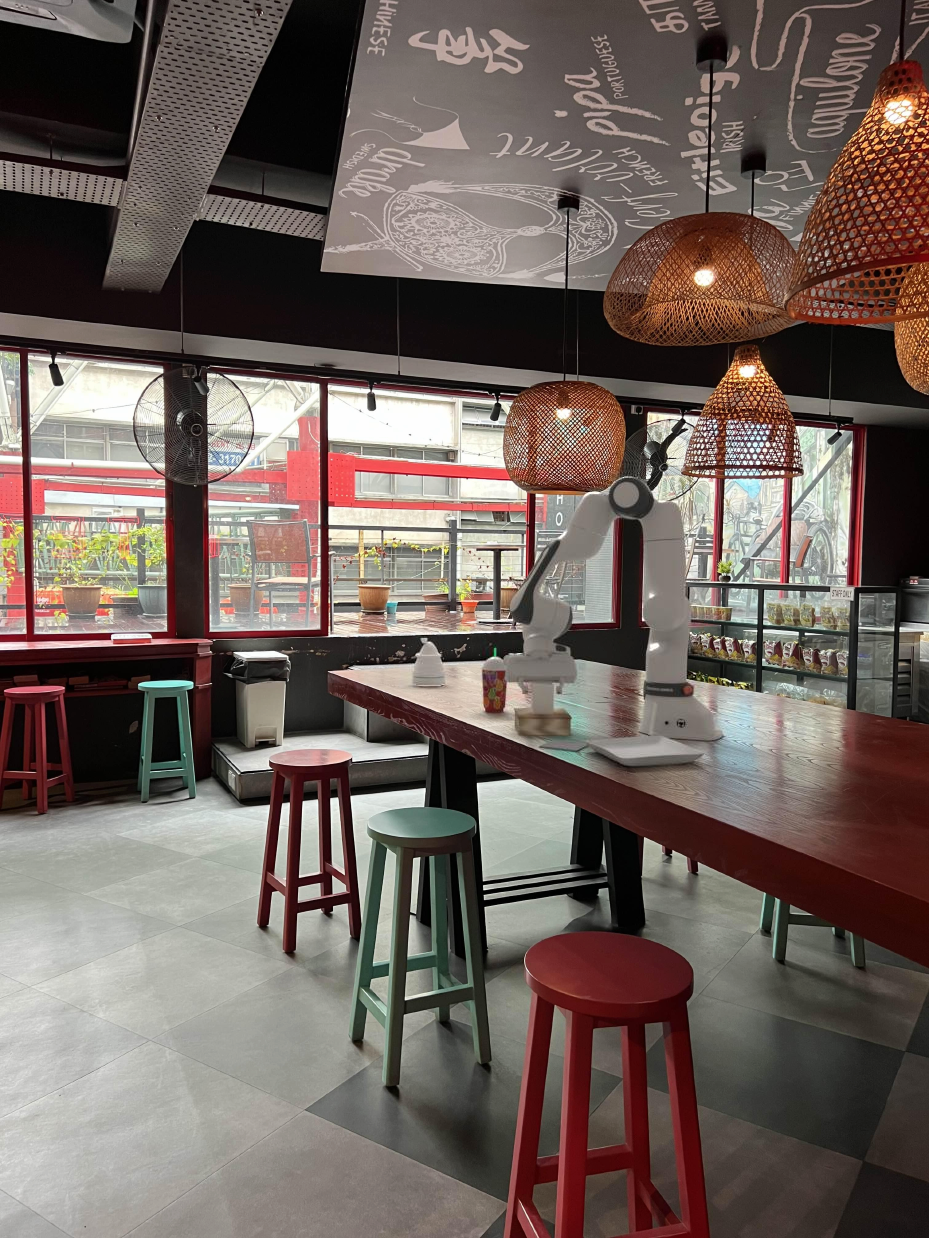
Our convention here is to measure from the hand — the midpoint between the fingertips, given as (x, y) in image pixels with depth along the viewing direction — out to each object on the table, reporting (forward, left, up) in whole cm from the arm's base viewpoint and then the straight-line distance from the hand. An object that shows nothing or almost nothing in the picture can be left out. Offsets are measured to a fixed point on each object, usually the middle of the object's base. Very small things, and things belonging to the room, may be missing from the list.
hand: (542, 692), depth 238 cm
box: (0, 0, -10) cm, 10 cm away
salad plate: (-35, +20, -11) cm, 42 cm away
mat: (-14, +17, -10) cm, 24 cm away
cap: (0, 0, -5) cm, 6 cm away
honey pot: (+77, -66, -11) cm, 102 cm away
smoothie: (+26, -22, -11) cm, 36 cm away
